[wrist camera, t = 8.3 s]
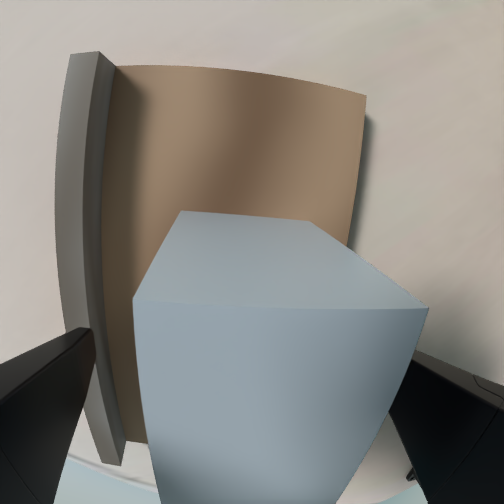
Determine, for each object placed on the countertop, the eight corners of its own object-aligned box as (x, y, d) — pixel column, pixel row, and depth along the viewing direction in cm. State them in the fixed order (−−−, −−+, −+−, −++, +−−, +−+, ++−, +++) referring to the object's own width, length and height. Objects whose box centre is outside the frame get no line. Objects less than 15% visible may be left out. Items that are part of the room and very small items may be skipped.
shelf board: (353, 100, 11) (390, 87, 8) (290, 431, 16) (302, 470, 13) (97, 75, 10) (66, 54, 7) (110, 422, 14) (99, 462, 12)
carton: (309, 221, 11) (429, 308, 5) (281, 379, 13) (326, 515, 6) (175, 210, 11) (117, 297, 4) (172, 376, 12) (159, 522, 6)
